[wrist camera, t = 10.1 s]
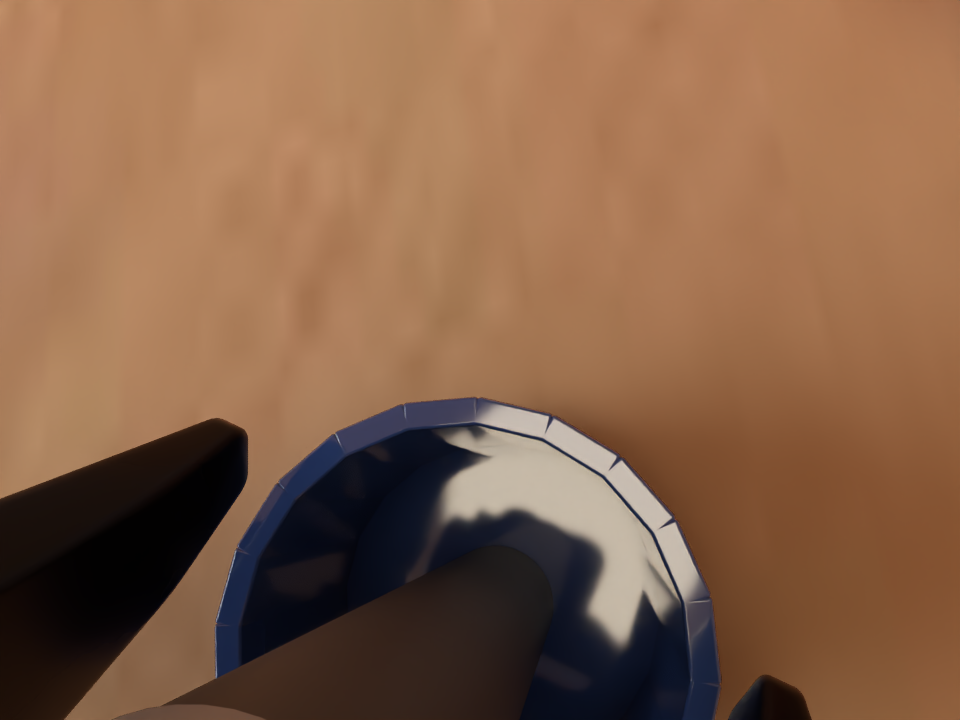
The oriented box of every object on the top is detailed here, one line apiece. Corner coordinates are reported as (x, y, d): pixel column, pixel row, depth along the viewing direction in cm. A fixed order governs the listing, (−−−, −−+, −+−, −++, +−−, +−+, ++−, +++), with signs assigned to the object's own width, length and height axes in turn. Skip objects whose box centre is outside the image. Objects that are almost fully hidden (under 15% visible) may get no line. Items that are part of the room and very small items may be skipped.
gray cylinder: (516, 690, 15) (175, 1552, 3) (415, 621, 16) (-242, 1107, 3) (578, 585, 15) (511, 977, 3) (477, 519, 16) (63, 626, 3)
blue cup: (560, 855, 15) (541, 1057, 10) (277, 647, 16) (122, 725, 11) (741, 544, 15) (819, 574, 10) (450, 368, 17) (382, 311, 11)
